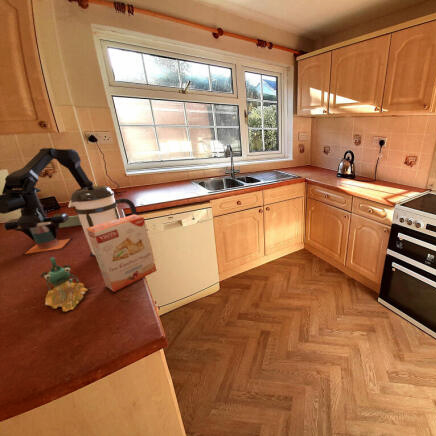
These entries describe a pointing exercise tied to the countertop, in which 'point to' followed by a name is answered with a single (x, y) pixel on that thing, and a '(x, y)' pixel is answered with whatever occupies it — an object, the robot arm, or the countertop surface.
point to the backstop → (71, 222)
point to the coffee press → (96, 206)
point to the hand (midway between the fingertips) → (45, 239)
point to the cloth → (36, 249)
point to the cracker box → (122, 251)
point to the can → (43, 236)
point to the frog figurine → (63, 288)
